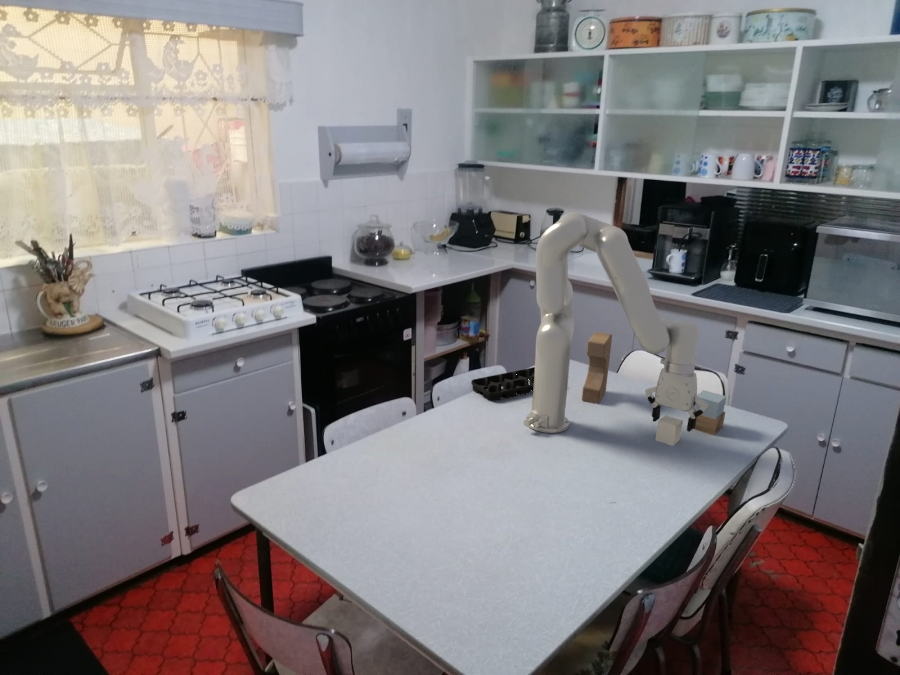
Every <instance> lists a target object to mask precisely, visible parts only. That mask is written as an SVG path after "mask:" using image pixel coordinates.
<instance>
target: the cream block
mask: <svg viewBox="0 0 900 675" xmlns="http://www.w3.org/2000/svg"><path fill="white" fill-rule="evenodd" d="M683 423H684V420H683V419H679V418H677V417H674V416H670V415H667V414H665V415H664V416H662V417H660V418H659V419H658V420H657V427H656V433H655V434H656V435H655V441H657V442H661V443H663V444H666V445H669V446H673V447H674V446H675V445H676V444H677V443H678V442H679V441H681V437H682V436H681V435H682V429H683Z"/></svg>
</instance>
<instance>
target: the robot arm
mask: <svg viewBox="0 0 900 675" xmlns="http://www.w3.org/2000/svg"><path fill="white" fill-rule="evenodd" d="M577 247H581V248H583V249H586V250H588V251H591V252H595V253H596V255H597V258H598V260H599V262H600V263H601V266H602V268H603V270H604V272H605V273H606V276H607V278H608V280H609V281H610V282H609V283H610V284H611V286H612V288H613V291H614V292H615V294H616V297H617V299H618V302H619V304H620V306H621V307H622V310H623V312H624V313H625V316H626V319H627V320H628V323H629V325H630V326H631V329H632V332H633V333H634V335H635V337H636V339H637V342H638V344H639V346H640V347H641V348H642V349H643V350H644V352H646V353H649V354H652V355H657V354H661V353H663V352H665V350H666V355H665V358H661V359H660V360H659V361H660V362H659V363H660V364H662V365H663V368H661V369H660V372H659V374H658V375H659V376H658V380H657V384H656V386H652V387H649V388H646V389H645V390H644V393H645V396H646V398H647V401H648V403H649V404H650V407H651V408H652V411H651V417H652V422H654V423H655V422H658V420H660V419H661V409H662V406H663V407H666V408H669V409H673V410H677V411H682V412H687V413H688V418H687V426H686V431H687V432H689V433H690V432H691V431H693V430H695V429H694V428H695V426H696V418H697V417H698V416H700V415H701V414H702V413H704V411H705V410H706V409H707V408H708V406H709V405H708V404H707V403H706V402H705V401H703V400H702V399H701V398H699V397H698V396H697V395H698V377H697V373H696V372H695V368H696V359H697V351H698V344H699V335H700V327H699V325H698V324H697V323H696V322H693V321H688V320H670V319H667V318H662V317H661V316H660V315H659V312H658V309H657V307H656V305H655V303H654V300H653V298H652V294H651V290H650V286H649V283H648V280H647V278H646V276H645V274H644V272H643V270H642V268H641V266H640V264H639V262H638V260H637V258H636V254H635V253H634V251H633V249H632V247H631V244H630V242H629V239H628V236H627V234H626V232H625V231H624V230H623V229H621V228H620V227H617V226H615V225H613V224H610V223H607V222H603V221H601V220H598V219H597V218H596V219H595V218H593V217H590V216H588V215H585V214H583V213H581V212H574V211H571V212H568V213H565V214H563V215H562V216H561V217H559V219H558V221H556V222H555V223H553V224H552V225H551V226H549V227H548V228H547V229H546V230H545V231H544V232H543V234H542V235H541V236H540V238H539V240H538V242H537V245H536V249H535V267H536V268H535V269H536V270H535V271H536V272H535V276H536V281H535V282H536V283H535V284H536V297H535V298H536V303H537V306H538V308H539V309H540V324H539V327H538V330H537V332H536V338H535V357H534V358H535V360H534V367H535V375H534V387H533V392H532V402H531V411H530V413H529V414H527V415H526V416H525V419H524V420H523V425H524V426H525V427H529V428H530V429H532V430H534V431H537V432H541V433H547V434H549V433H550V434H557V433H561V432H564V431H566V430H568V428H569V427H570V420H569V418H568V417H566V415H565V414H566V404H567V395H568V384H569V372H570V362H571V360H570V359H571V350H572V344H573V342H572V341H573V337H574V329H575V317H574V316H575V315H574V290H573V285H572V283H571V281H570V280H569V263H568V262H569V261H568V257H569V254H570V253H571V251H572V250H573V249H575V248H577ZM653 393H654V395H653ZM696 403H697V404H698V405H700V406H701V408H700V409H699V410H698V411H697V410H696V408H695V407H694V406H695V405H696Z"/></svg>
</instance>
